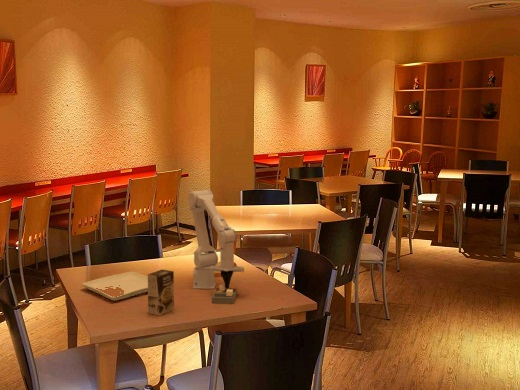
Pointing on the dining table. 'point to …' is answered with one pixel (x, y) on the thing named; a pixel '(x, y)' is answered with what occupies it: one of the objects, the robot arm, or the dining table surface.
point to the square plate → (127, 281)
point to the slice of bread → (218, 273)
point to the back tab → (222, 287)
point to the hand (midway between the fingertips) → (227, 287)
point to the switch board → (224, 296)
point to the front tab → (229, 292)
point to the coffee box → (160, 292)
